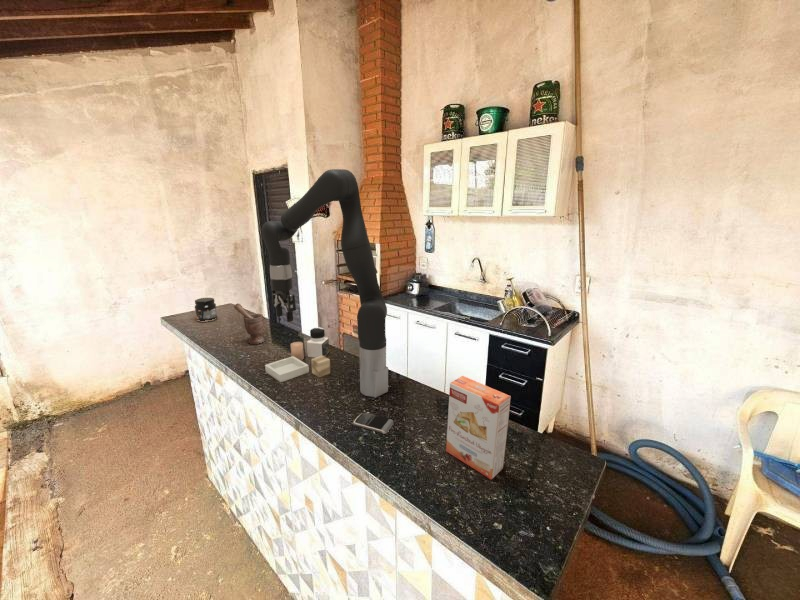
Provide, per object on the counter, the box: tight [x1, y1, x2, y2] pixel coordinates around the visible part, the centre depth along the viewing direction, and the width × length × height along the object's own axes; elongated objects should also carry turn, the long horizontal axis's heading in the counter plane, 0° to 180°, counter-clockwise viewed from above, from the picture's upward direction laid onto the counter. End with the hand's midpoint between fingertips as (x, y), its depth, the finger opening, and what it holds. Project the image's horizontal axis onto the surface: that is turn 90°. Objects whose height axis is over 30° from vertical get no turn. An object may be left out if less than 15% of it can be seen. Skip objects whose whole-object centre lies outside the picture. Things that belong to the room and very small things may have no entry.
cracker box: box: [445, 375, 512, 481], centre depth 86 cm, size 14×6×21 cm, turn 45°
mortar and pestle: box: [233, 303, 266, 345], centre depth 161 cm, size 12×9×20 cm
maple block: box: [311, 356, 331, 379], centre depth 134 cm, size 5×5×6 cm
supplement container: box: [194, 297, 218, 321], centre depth 195 cm, size 10×10×12 cm
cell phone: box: [353, 412, 394, 434], centre depth 104 cm, size 6×11×1 cm, turn 67°
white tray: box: [264, 356, 310, 383], centre depth 135 cm, size 12×12×3 cm
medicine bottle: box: [306, 327, 330, 359], centre depth 151 cm, size 7×7×12 cm
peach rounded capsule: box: [290, 341, 305, 362], centre depth 146 cm, size 5×5×7 cm
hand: (284, 318), depth 131 cm, fingers open, 8 cm apart
